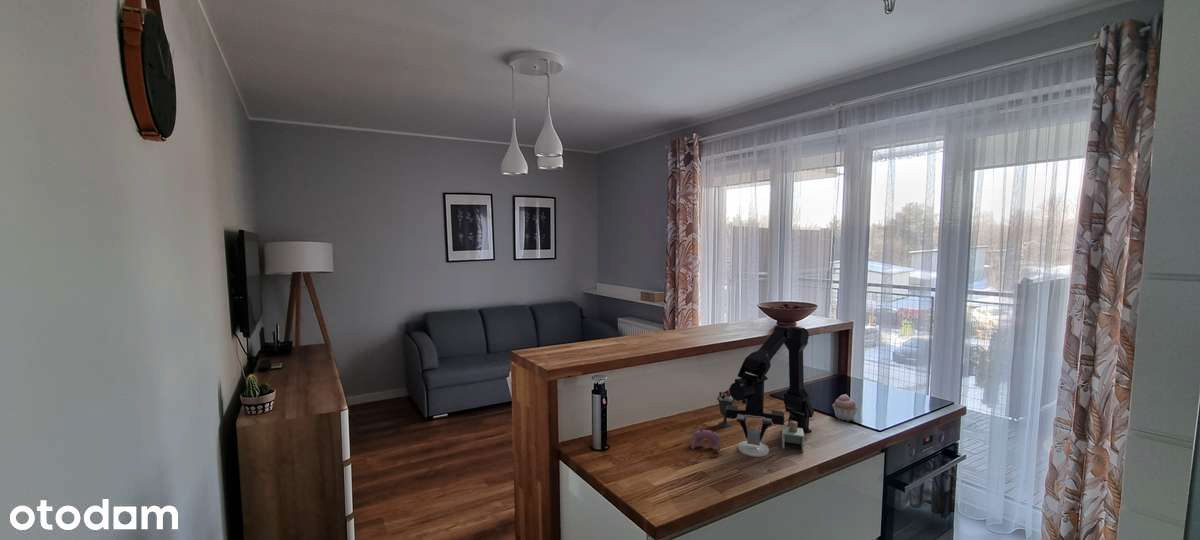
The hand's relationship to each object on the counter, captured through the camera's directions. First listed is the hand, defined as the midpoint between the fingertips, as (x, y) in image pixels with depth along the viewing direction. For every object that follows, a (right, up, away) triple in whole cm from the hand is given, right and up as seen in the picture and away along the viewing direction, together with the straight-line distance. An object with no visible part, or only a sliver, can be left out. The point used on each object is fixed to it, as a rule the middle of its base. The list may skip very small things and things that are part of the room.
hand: (753, 439), depth 160 cm
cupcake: (+46, -2, +29) cm, 54 cm away
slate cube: (0, -1, 0) cm, 1 cm away
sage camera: (+15, -4, +3) cm, 15 cm away
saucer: (0, -4, 0) cm, 4 cm away
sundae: (-4, -2, +22) cm, 22 cm away
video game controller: (-16, -4, +2) cm, 16 cm away
